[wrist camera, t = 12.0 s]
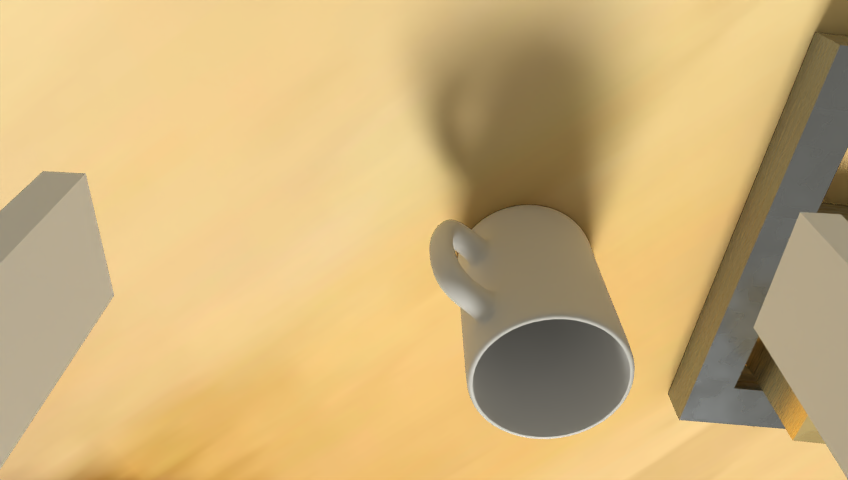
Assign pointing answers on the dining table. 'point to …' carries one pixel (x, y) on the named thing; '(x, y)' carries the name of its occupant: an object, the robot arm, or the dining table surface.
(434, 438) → the dining table surface
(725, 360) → the square hole plate
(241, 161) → the dining table surface
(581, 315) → the mug
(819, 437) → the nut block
